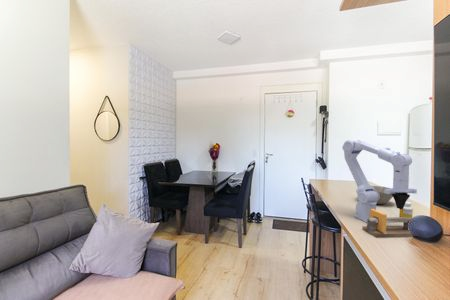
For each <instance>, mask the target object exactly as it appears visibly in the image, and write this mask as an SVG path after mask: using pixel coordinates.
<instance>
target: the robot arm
mask: <svg viewBox="0 0 450 300" xmlns="http://www.w3.org/2000/svg"><path fill="white" fill-rule="evenodd" d="M342 150H343V152H344V153H343V154H344V155H343V156H344V160H345V162H346V164H347V167H348V169H349V171H350V172H351V176H352V178H353V179H354V182H355V184H356V186H358V187H357V188H356V191H355V192H356V194H357V200H358V201H357V203H356V204H355V214H354V215H353V216H354V217H355V218H357V219H359V220H361V221H362V222H365V223H367V219H368V218H370V209H375V210H377V204H376V203H377V201H378V200H379V198H380V196H379V193H378V192H377V191H376V190H375V189H374V187H372V186H373V185H371V184H370V183H369V182H368V179H367V178H366V175H365V174H364V171H363V170H362V169H363V168H362V167H361V165H360V164H359V161H358V159H357V157H358V156H359V155H360V154H361V152H362V151H366V152H369V153H372V154H375V155H376V156H377V158H378V159H380V160H382V161H385V162H387V163H390V164H391V165H392V168H393V173H392V174H393V178H392V187H389V188H390V189H384V193H386V194H391V195H392V196H393V197H392V198H393V199H394V202H395V206H396V208H397V209H399V210H400V209H403V208H404V205H405V203H406V202H408V200H409V198H410V197H411V194H417V189H416V188H409V183H410V181H409V180H410V179H409V178H410V166H411V164H412V163H413V159H412V157H411V156H410V155H408V154H406V153H403V154H401V153H400V152H399V151H394V150H392V149H391V148H390V147H383V148H379V147H377V146H375V145H373V144H370V143H368V142H365V141H362V140H360V139H359V140H348V139H347V140H346V141H344V142H343V145H342Z"/></svg>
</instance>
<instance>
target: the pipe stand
mask: <svg viewBox="0 0 450 300" xmlns="http://www.w3.org/2000/svg"><path fill="white" fill-rule="evenodd" d="M411 219H412V220H413V217H412V218H410V217H399V216H398V217H397V216H396V217H389V216H388V217H386V224H387V223H388V224H391V223H393V224H394V223H395V224H397V223H398V224H399V223H403V224H402V225H386V232H384V233H382V232H380V231H379V230H377V229H376V223H379V218H377V217H376V218H368V219H367V222H366V226H365V225H363V226H362V228H361V229H362V231H364V232H366V233H368V234H370V235H371V236H373V237H374V238H376V239H378V238H380V239H381V238H409V237H410V238H412V237H413V236H412V234H411V233H410V232H409V230H408V223H409V221H410V220H411Z"/></svg>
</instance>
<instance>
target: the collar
mask: <svg viewBox="0 0 450 300" xmlns="http://www.w3.org/2000/svg"><path fill="white" fill-rule="evenodd" d="M387 216H388V214H386V213H383V212H382V211H379V210H377V209H376V210H375V209H370V218H376V217H377V218H379V223H376V229H377V230H379V231H380V232H382V233H384V232H386V226H387V223H386V217H387Z"/></svg>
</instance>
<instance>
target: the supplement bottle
mask: <svg viewBox="0 0 450 300" xmlns="http://www.w3.org/2000/svg"><path fill="white" fill-rule="evenodd" d="M413 211H414V209H413V207H412V202H409V201H406V203H405V205H404V208H403V209H399V212H398V214H399V216H398V217H410V218H412V219H413V213H414V212H413Z"/></svg>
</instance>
